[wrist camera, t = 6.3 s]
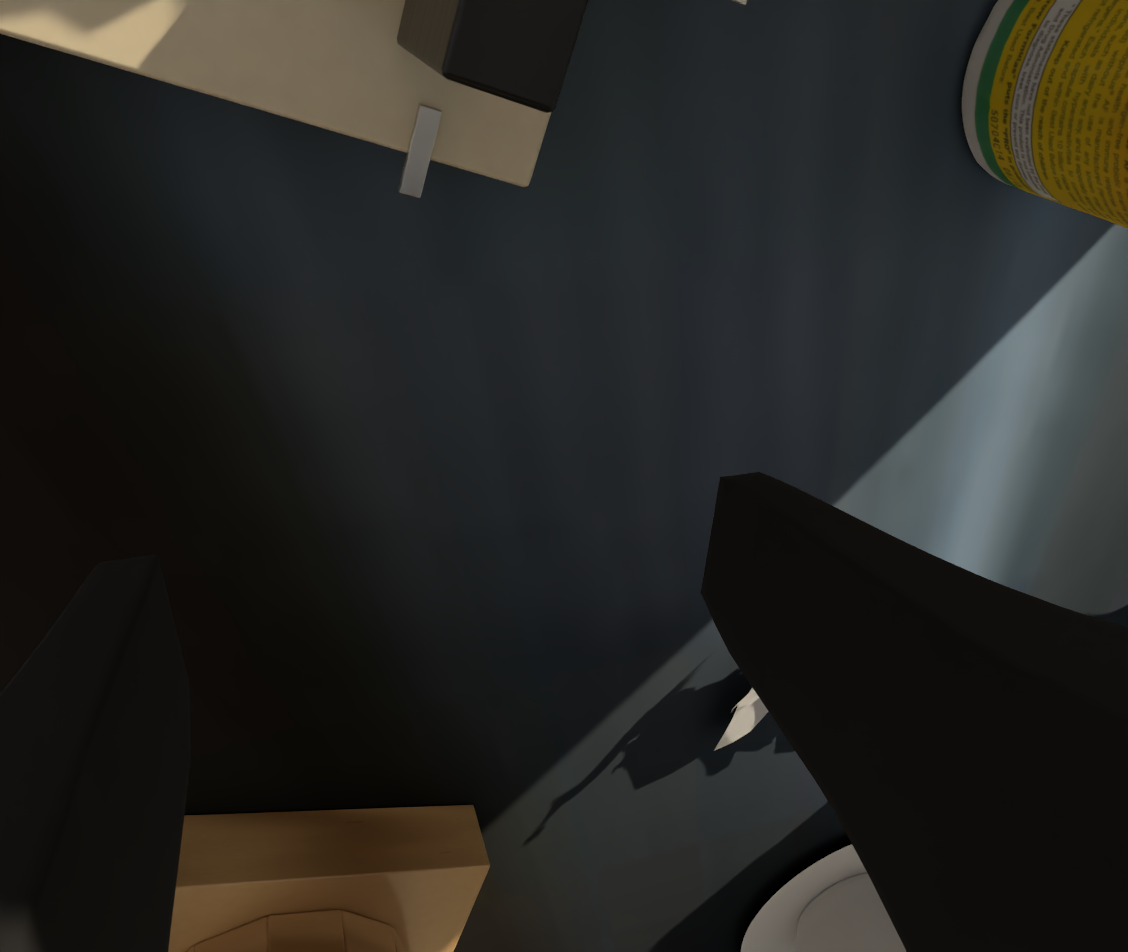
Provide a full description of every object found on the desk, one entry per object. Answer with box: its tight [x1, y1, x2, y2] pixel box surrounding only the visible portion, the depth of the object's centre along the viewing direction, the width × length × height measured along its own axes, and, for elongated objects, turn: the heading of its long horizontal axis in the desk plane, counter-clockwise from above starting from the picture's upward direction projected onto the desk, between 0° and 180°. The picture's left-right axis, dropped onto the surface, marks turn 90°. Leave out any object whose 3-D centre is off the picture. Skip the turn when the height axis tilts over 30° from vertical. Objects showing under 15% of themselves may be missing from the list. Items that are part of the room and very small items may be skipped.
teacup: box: [741, 844, 906, 952], centre depth 36 cm, size 10×10×5 cm
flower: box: [714, 688, 769, 751], centre depth 28 cm, size 8×8×3 cm
